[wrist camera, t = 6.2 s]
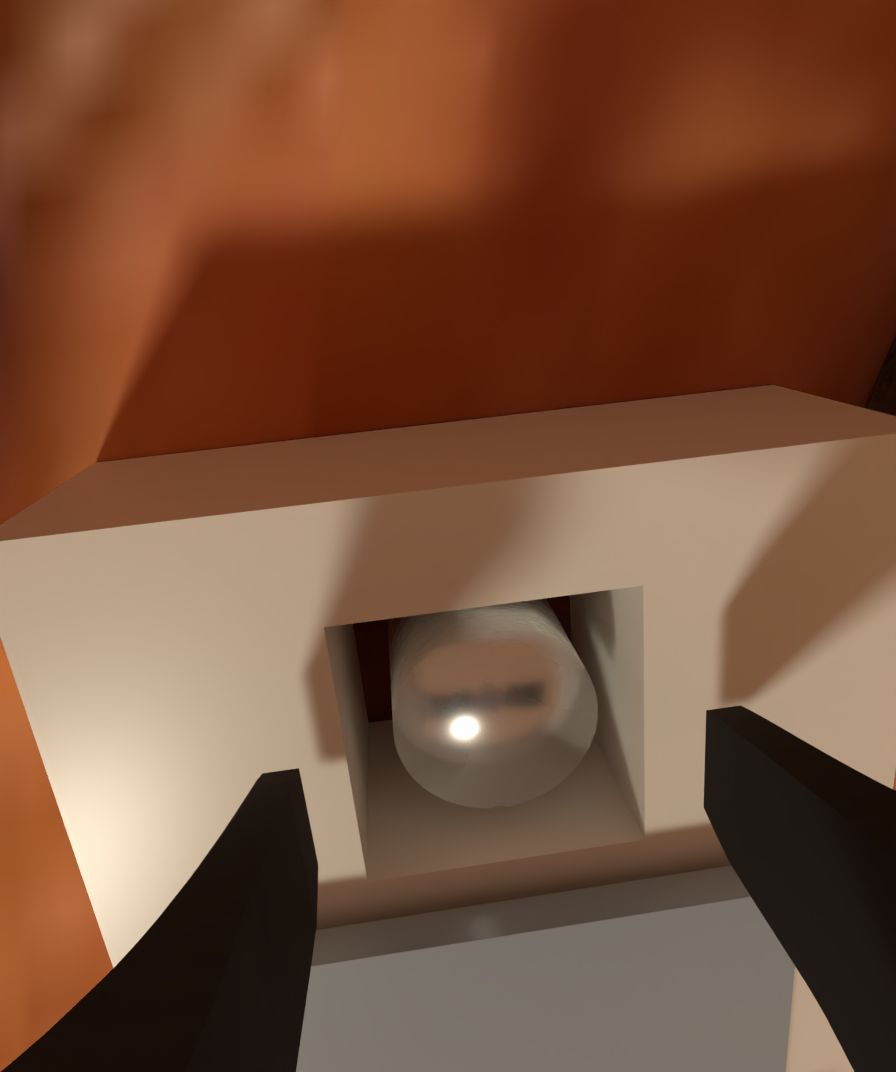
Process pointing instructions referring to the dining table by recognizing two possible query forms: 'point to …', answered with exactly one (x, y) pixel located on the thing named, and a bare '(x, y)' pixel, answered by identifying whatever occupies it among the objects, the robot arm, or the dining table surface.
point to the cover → (557, 985)
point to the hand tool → (886, 386)
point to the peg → (489, 702)
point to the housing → (445, 585)
